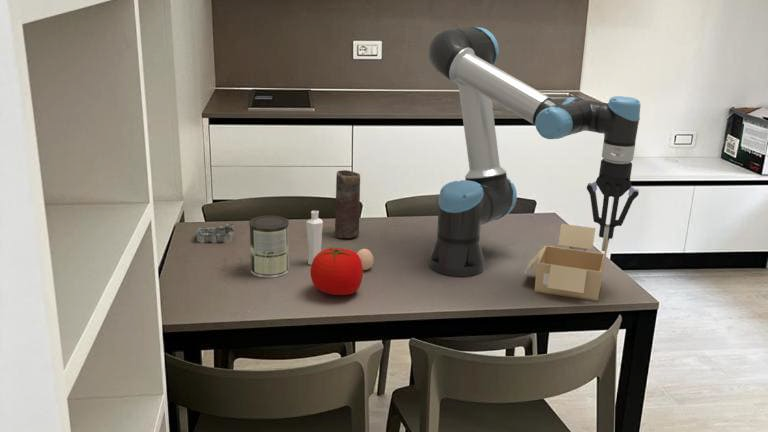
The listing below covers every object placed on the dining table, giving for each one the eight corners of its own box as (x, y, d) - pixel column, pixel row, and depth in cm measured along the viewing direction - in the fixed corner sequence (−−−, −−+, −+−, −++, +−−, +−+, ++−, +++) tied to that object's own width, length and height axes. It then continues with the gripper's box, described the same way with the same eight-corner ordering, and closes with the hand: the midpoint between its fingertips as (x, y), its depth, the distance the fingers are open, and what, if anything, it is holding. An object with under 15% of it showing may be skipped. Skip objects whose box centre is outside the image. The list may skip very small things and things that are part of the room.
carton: (534, 291, 205) (537, 263, 203) (542, 272, 218) (544, 245, 215) (597, 301, 200) (601, 272, 198) (601, 281, 213) (605, 253, 211)
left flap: (538, 258, 206) (525, 275, 208) (543, 248, 213) (529, 264, 215) (537, 257, 206) (523, 274, 208) (542, 247, 213) (528, 263, 215)
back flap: (558, 244, 214) (561, 223, 216) (558, 244, 215) (561, 224, 216) (592, 249, 211) (595, 228, 213) (592, 249, 212) (595, 228, 213)
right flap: (601, 265, 201) (606, 243, 199) (604, 254, 208) (608, 233, 206) (603, 265, 200) (608, 243, 198) (605, 255, 208) (610, 234, 206)
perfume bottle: (326, 263, 220) (327, 211, 215) (315, 267, 217) (315, 215, 212) (315, 258, 223) (315, 208, 218) (303, 262, 220) (303, 211, 215)
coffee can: (242, 269, 213) (241, 220, 209) (273, 260, 220) (272, 212, 216) (265, 281, 207) (264, 230, 202) (296, 271, 213) (296, 222, 209)
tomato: (368, 284, 206) (369, 242, 203) (354, 306, 194) (355, 261, 190) (320, 279, 209) (321, 237, 205) (304, 299, 196) (304, 255, 193)
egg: (355, 273, 214) (356, 252, 212) (353, 266, 218) (354, 246, 217) (374, 272, 214) (375, 252, 213) (371, 265, 219) (372, 245, 217)
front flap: (550, 264, 202) (547, 287, 200) (550, 264, 201) (547, 287, 200) (587, 270, 199) (583, 293, 198) (587, 269, 199) (583, 293, 197)
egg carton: (235, 236, 239) (235, 223, 238) (231, 244, 232) (231, 231, 231) (199, 235, 239) (199, 222, 238) (194, 243, 232) (194, 230, 231)
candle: (345, 230, 246) (346, 168, 240) (364, 235, 242) (365, 172, 236) (329, 236, 240) (330, 173, 234) (348, 242, 236) (349, 177, 230)
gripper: (589, 160, 194) (577, 250, 202) (642, 166, 190) (628, 258, 198) (592, 153, 201) (580, 241, 208) (643, 160, 197) (630, 248, 205)
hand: (604, 249), depth 203 cm, fingers closed
